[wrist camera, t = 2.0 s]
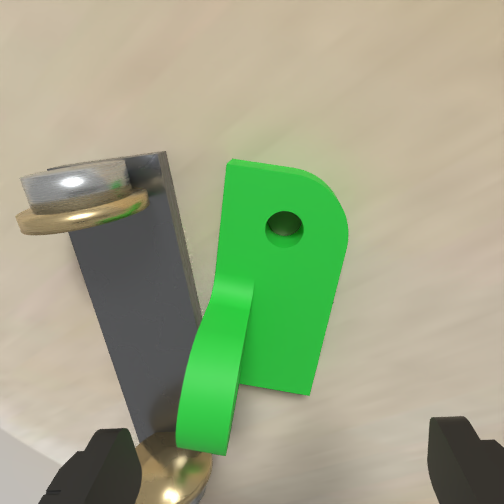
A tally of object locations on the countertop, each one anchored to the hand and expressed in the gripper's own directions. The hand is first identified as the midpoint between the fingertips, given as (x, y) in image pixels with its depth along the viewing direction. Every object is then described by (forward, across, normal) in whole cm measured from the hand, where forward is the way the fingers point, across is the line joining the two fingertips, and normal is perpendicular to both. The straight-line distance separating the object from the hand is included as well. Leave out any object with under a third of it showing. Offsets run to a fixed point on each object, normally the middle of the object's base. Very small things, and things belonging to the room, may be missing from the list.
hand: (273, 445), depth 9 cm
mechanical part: (+11, 0, 0) cm, 11 cm away
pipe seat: (+11, +8, +2) cm, 13 cm away
